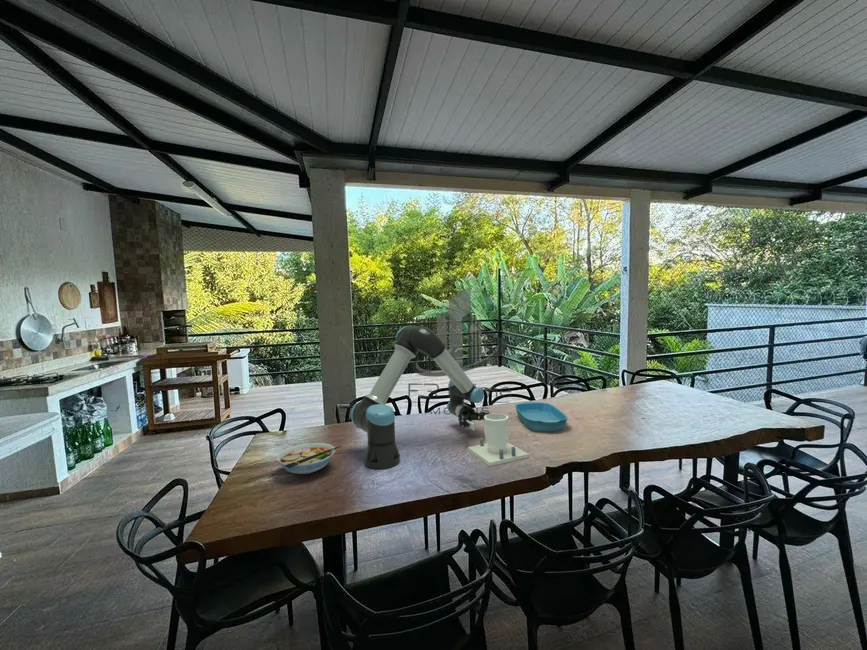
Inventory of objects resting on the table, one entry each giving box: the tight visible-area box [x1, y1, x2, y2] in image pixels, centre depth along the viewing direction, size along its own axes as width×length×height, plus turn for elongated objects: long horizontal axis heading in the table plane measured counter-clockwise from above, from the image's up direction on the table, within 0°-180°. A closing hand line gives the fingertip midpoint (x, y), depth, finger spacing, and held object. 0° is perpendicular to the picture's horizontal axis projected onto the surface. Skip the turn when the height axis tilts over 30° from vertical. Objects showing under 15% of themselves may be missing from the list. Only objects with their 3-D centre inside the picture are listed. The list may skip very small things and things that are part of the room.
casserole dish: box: [514, 401, 568, 432], centre depth 208 cm, size 37×22×7 cm, turn 3°
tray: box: [467, 437, 529, 467], centre depth 168 cm, size 19×19×5 cm
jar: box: [483, 413, 510, 454], centre depth 168 cm, size 11×10×15 cm
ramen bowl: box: [276, 442, 342, 475], centre depth 158 cm, size 25×23×8 cm
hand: (487, 424), depth 175 cm, fingers open, 13 cm apart
